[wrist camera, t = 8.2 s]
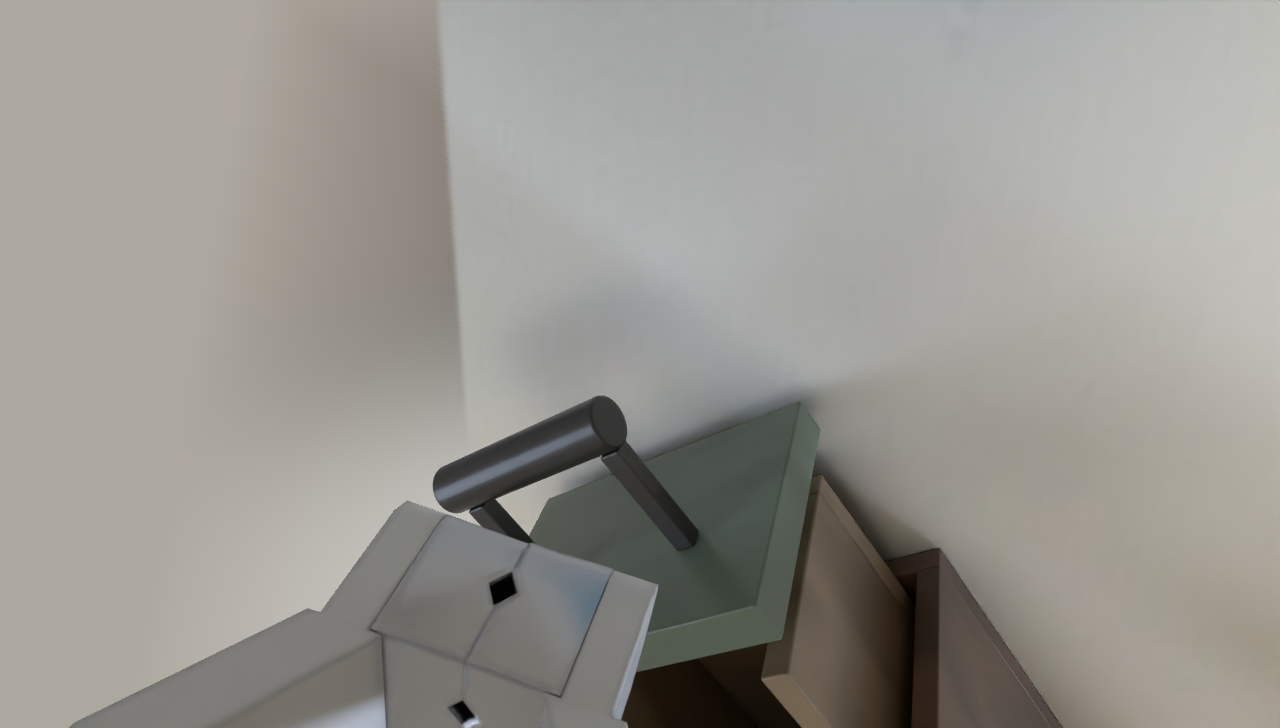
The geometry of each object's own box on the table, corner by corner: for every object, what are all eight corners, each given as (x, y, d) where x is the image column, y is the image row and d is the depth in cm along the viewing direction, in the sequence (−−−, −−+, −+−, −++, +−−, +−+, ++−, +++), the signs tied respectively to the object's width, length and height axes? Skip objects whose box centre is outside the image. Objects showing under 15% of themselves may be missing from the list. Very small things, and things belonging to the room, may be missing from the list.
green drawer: (459, 397, 29) (331, 568, 23) (708, 268, 24) (627, 449, 18) (750, 728, 35) (709, 933, 29) (1002, 687, 30) (1017, 928, 24)
